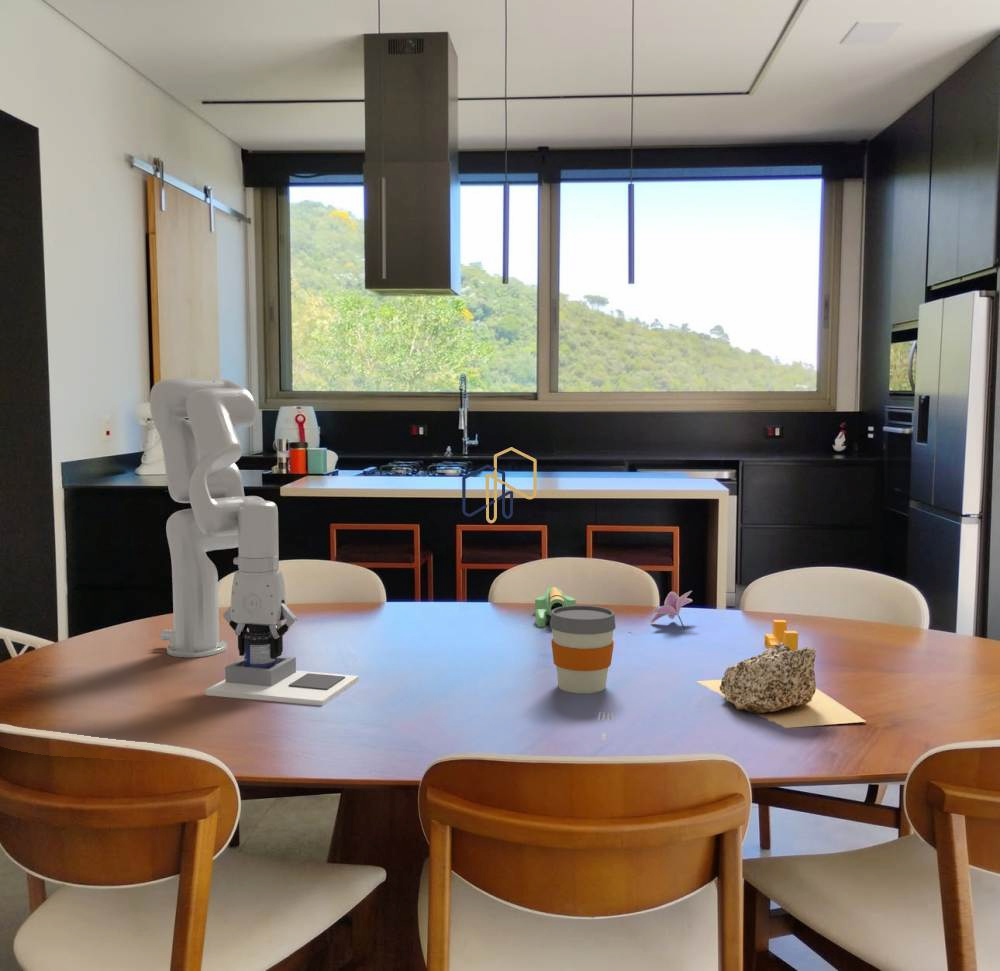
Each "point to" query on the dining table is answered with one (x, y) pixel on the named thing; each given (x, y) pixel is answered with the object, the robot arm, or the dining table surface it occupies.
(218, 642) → the robot arm
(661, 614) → the lily
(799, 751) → the dining table surface
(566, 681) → the reusable coffee cup
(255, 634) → the pill bottle
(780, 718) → the rock
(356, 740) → the dining table surface
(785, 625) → the orange stepped block
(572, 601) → the toy spaceship
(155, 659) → the dining table surface
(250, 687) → the socket board
